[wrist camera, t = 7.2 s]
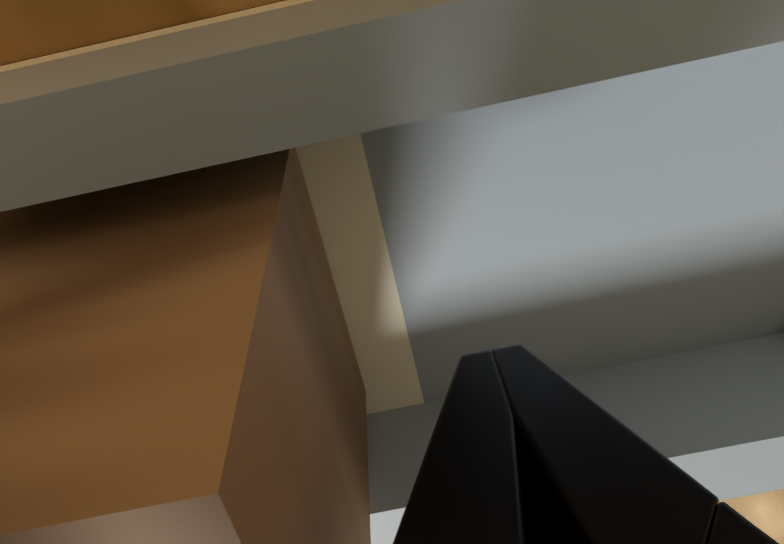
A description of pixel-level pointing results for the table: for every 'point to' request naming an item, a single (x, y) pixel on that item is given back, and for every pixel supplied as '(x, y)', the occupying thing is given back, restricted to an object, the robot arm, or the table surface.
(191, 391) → the walnut block
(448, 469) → the robot arm
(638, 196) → the chute
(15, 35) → the table surface
